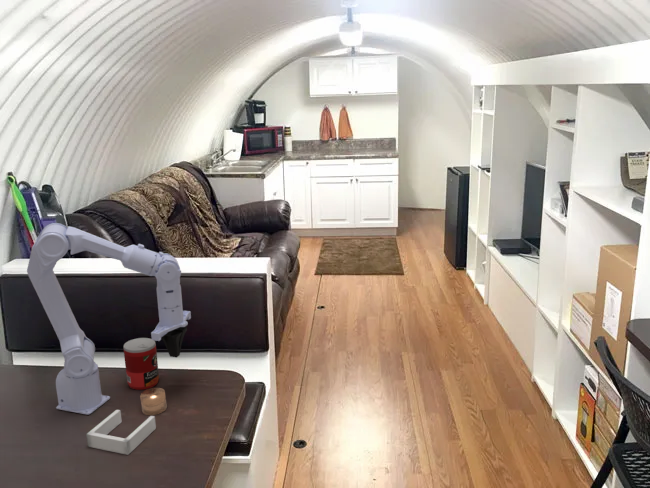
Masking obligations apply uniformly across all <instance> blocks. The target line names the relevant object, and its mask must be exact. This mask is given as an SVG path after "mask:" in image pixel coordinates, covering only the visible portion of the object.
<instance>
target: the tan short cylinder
mask: <svg viewBox="0 0 650 488" xmlns="http://www.w3.org/2000/svg"><path fill="white" fill-rule="evenodd" d="M139 398H140V404H141V411H142V414H144V415H146V416H156V415H159V414H161V413H163V412H165V411H166V410H167V407H168V405H167V404H168V403H167V398H166V390H165V389H164V388H161V387H151V388H148V389H144V390H143V391H142V392H141V393H140V395H139Z"/></svg>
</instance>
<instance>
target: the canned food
mask: <svg viewBox="0 0 650 488" xmlns="http://www.w3.org/2000/svg"><path fill="white" fill-rule="evenodd" d="M157 353H158V350H157V344H156V341H155V340H152V338H148V337H138V338H134V339H130V340H128V341H126V342H125V343H124V344H123V356H124V363H125V365H124V366H125V372H126V381H127V385H128V386H129V388H130V389H133V390H137V391H142V390H143V391H145V390H147V389H150V388H154V387H155V386H157V384H158V383H159V379H160V374H159V364H158V354H157Z"/></svg>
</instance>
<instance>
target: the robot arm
mask: <svg viewBox="0 0 650 488" xmlns="http://www.w3.org/2000/svg"><path fill="white" fill-rule="evenodd" d="M69 250H70V255H75V254H79V253H81V252H90V253H93V254H96V255H100V256H103V257H106V258H111V259H114V260H116V261H117V260H118V261H120V262H121V264H122V267H123V268H125V269H128V270H131V271H133V272H137V273H140V274H143V275H145V276H149V277H155V278H156V297H157V298H156V299H157V309H158V318H159V322H158V323H157V324H156V326H155V329H154V330H152V331H151V332H150V335H151V336H150V337H151V339H152V340H154V341H155V342H157V341H158V342H160V341H161V340H162V342H163V343H164V346H165V347H166V351H167V352H168V355H169V357H171V358H178V357H179V356H180V355H181V351H182V343H183V340H184V337H185V334H186V332H187V331H188V328H187V326H188V324H189V323H188V321H189V320H191V318H192V315H191V314H192V312H191V311H190V310H184V309H183V308H184V307H183V297H182V286H181V284H180V283H181V279H180V278H181V276H182V270H181V268H180V265H179V262H178V261H177V259H176V257H175V256H173V255H171V254H170V253H164V252H162V251H159V252H157V251H154V250H150V249H149V248H148V249H147V248H145V245H144V244H141V243H138V244H137V245H136V244H131V245H128V246H123V245H121V244H118V243H115V242H114V241H113V242H112V241H110V240H108V239H105V238H103V237H99V236H98V235H94V234H92V233H89V232H87V231H84V230H81V229H79V228H77V227H74V226H70V225H69V226H67V225H64V224H62V223H60V222H59V223H58V222H54V223H50V224H47V225H46V226H44V228H43V229H42V230H41V231H40V233H39V234H38V236H37V237H36V238H35V242H34V244H33V245H32V246H31V252H30V255H29V261H28V264H27V268H26V273H27V276H28V278H29V280H30V282H31V284H32V286H33V288H34V290H35V292H36V294H37V296H38V298H39V301H40V303H41V305H42V308H43V309H44V311H45V313H46V315H47V318H48V319H49V321H50V325H52V327H53V330H54V332H55V334H56V336H57V339H58V340H59V344H60V350H61V354H62V356H63V358H64V362H63V368H62V369H61V370H60V371H59V372H58V373H57V376H56V378H55V389H56V394H57V395H56V396H57V402H58V405H57V406H56V407H55V408H56V410H62V411H66V412H72V413H77V414H83V415H91V414H92V413H94V412H95V411H96V410H97V409H99V408H100V407H101V406H102V405H104V404H105V403H106V402H108V401H109V400H110V399H111V396H109V395H104V394H102V389H101V388H102V387H101V379H100V372H99V365H98V363H96V361H94V360H95V352H96V347H95V345H96V344H95V343H94V342H93V340H91V339H90V338H88V337H87V336H86V334H85V331H84V330H82V329H81V328H80V326H79V323H78V322H77V320H76V317H75V315H74V313H73V310H72V309H71V306H70V305H69V302H68V300H67V297H66V295H65V294H64V291H63V289H62V287H61V285H60V282H59V280H58V278H57V276H56V273H55V272H54V268H55V266H56V264H57V263H58V262H59V261H60V260H61V259H62V258H63V257H64V256H65V255H67V253H68V251H69ZM187 320H188V321H187Z"/></svg>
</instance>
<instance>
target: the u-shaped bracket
mask: <svg viewBox="0 0 650 488" xmlns="http://www.w3.org/2000/svg"><path fill="white" fill-rule="evenodd" d="M122 420H123V419H122V411H121V410H120V409H115V410H114V411H113V412H112V413H110V414H109V415H108V416H107V417H106V418H104V419H103V420H102V421H100V423H99V422H98V424H97V425H95V427H93V428H92V429H91V430H90V431H88V432H87V433H85V434H86V442H87V447H89V448H94V449H98V450H103V451H106V452H107V451H108V452H112V453H117V454H121V455H127V456H129V455H130V454H131V453H132V452H133V451H134V450H135V449H136V448H137V447H139V445H140V444H142V442H143V441H144V440H146V438H148V437H149V436H150V435H151V433H153V432H154V431H155V430H156V428H157V425H156V424H157V423H156V415H149V416H148V418H146V419H145V420H144V421H143V422H142V423H141V424H140V425H139V426H138V427H137V428H136V429H135V430H133V431H132V432H131V433H130V434H129V435H128V436H126V437H125V438H123V437H120V436H113V435H110V434H109V433H111V432H112V431H113V430H114V429H115V428H116V427H118V426H119V425H120V424H121V423H122ZM108 434H109V435H108Z"/></svg>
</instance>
